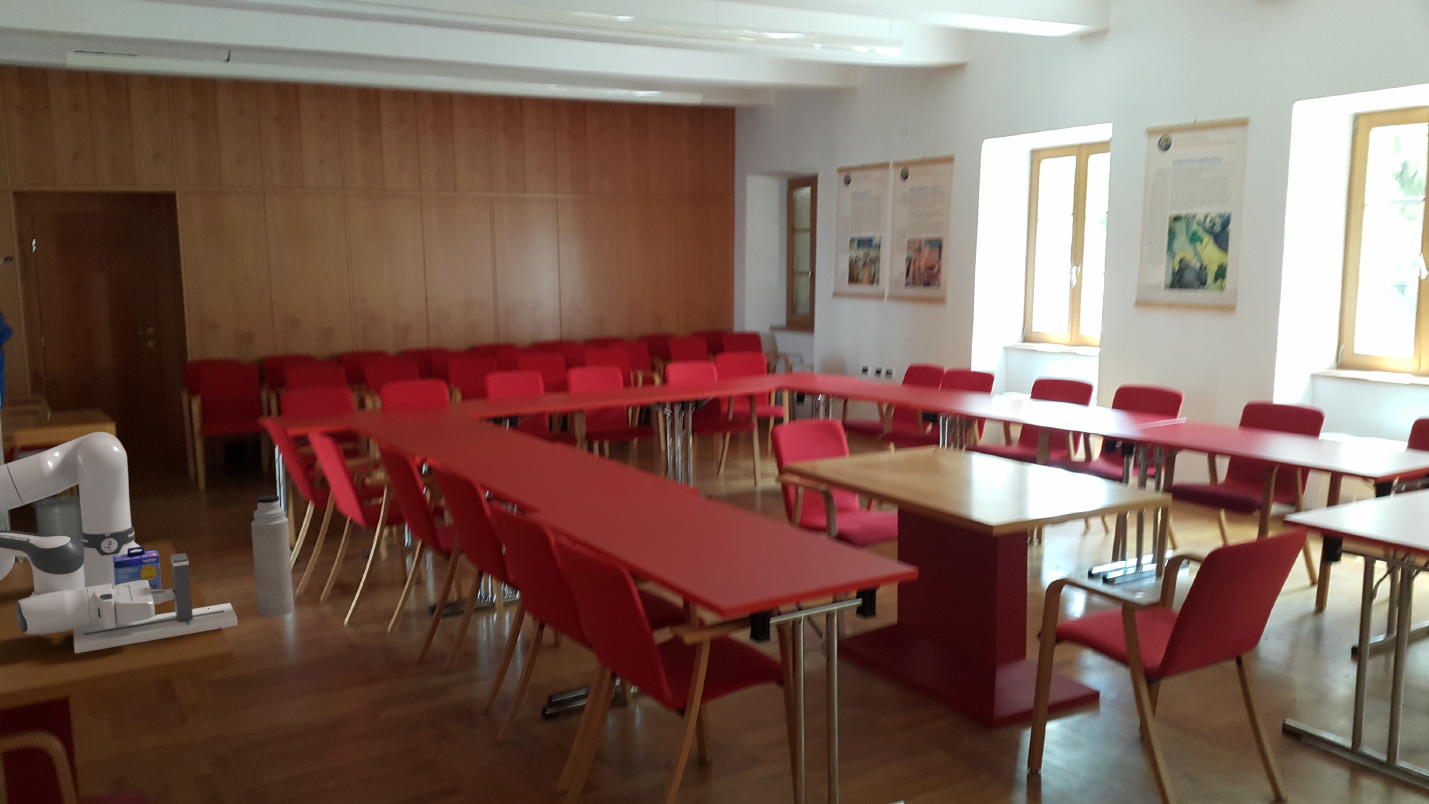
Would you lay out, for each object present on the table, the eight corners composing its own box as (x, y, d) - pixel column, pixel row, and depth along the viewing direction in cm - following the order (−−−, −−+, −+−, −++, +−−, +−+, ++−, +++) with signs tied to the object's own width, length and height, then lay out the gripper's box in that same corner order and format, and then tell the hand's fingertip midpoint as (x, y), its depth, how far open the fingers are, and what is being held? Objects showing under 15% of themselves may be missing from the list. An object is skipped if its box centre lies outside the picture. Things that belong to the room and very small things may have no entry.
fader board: (74, 637, 235) (73, 627, 235) (230, 611, 252) (229, 602, 252) (74, 653, 225) (73, 643, 225) (237, 625, 242) (237, 616, 242)
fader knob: (175, 614, 243) (170, 555, 241) (190, 611, 245) (185, 552, 243) (177, 621, 238) (173, 561, 236) (193, 619, 239) (188, 559, 238)
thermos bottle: (291, 604, 256) (283, 491, 252) (296, 614, 249) (288, 497, 246) (255, 610, 252) (247, 495, 249) (259, 620, 245) (251, 502, 242)
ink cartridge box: (117, 610, 254) (112, 551, 252) (115, 604, 258) (110, 546, 256) (163, 602, 259) (159, 545, 257) (161, 596, 264) (156, 540, 262)
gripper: (104, 605, 242) (171, 595, 249) (107, 631, 224) (179, 619, 232) (101, 578, 241) (169, 569, 248) (104, 603, 224) (177, 591, 231)
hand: (174, 593), depth 240 cm, fingers closed
